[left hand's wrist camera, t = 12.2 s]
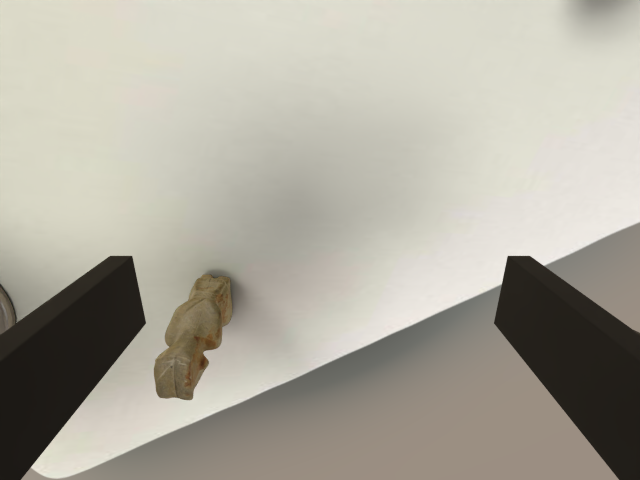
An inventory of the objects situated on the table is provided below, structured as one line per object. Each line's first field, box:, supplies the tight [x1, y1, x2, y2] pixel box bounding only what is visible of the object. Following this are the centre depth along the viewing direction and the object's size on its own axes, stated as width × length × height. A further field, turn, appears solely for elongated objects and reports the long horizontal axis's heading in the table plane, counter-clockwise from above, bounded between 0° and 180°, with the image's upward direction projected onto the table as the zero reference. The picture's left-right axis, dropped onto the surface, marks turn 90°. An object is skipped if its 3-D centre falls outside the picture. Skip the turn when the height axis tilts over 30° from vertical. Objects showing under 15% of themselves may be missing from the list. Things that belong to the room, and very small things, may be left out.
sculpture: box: [154, 275, 232, 400], centre depth 39 cm, size 6×7×15 cm
